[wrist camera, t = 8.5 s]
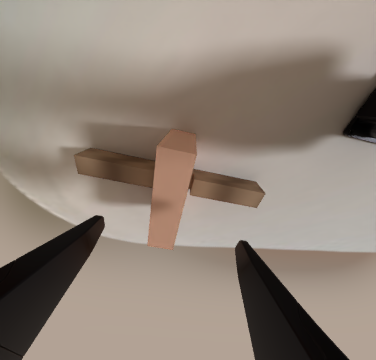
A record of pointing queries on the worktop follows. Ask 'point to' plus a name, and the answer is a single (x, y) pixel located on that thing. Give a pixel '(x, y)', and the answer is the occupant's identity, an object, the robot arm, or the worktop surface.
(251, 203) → the brown rail
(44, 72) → the worktop surface
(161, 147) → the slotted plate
